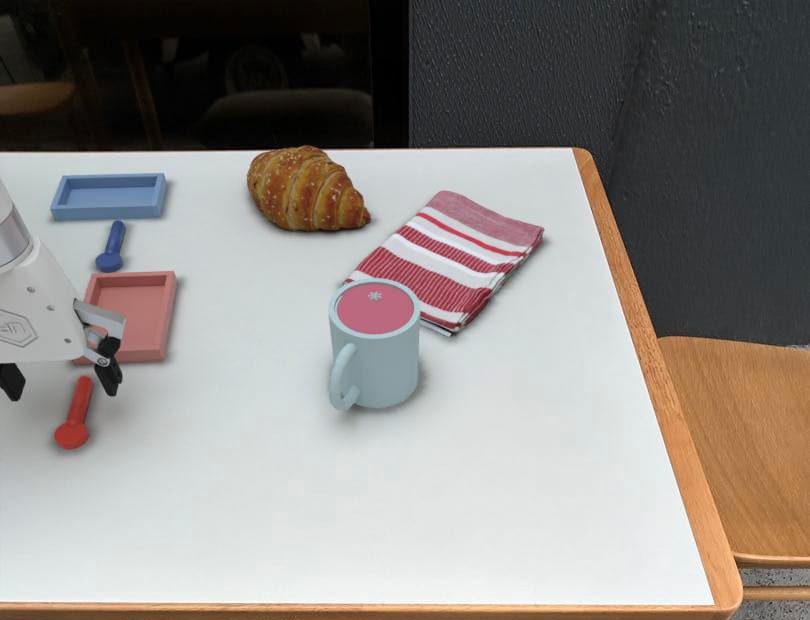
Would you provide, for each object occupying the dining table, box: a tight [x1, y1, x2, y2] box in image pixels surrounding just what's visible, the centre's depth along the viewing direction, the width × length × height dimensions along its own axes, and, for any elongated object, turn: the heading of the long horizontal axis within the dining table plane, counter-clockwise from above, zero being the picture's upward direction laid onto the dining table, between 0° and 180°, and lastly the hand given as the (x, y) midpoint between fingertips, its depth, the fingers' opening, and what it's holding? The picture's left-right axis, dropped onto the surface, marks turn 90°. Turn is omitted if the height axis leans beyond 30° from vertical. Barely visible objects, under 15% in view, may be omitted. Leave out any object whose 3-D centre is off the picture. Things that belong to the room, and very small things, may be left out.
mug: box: [327, 278, 421, 412], centre depth 70 cm, size 14×9×10 cm
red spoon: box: [53, 375, 94, 450], centre depth 71 cm, size 10×3×2 cm, turn 4°
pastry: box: [246, 144, 371, 232], centre depth 89 cm, size 21×13×8 cm, turn 53°
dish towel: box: [341, 189, 545, 339], centre depth 85 cm, size 17×23×3 cm
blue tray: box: [49, 172, 168, 222], centre depth 92 cm, size 14×8×2 cm, turn 94°
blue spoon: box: [94, 219, 126, 273], centre depth 86 cm, size 10×3×2 cm, turn 4°
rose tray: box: [72, 270, 179, 365], centre depth 79 cm, size 14×10×2 cm
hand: (67, 389), depth 68 cm, fingers open, 9 cm apart
